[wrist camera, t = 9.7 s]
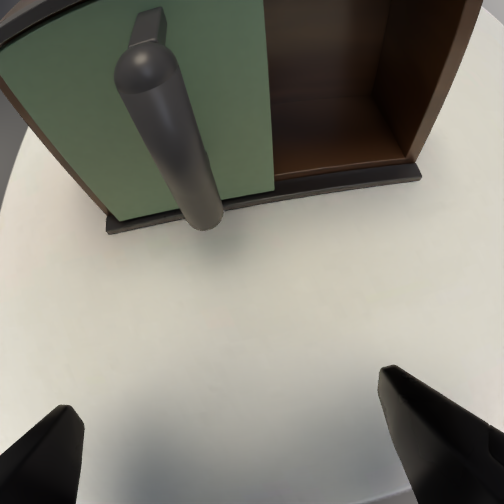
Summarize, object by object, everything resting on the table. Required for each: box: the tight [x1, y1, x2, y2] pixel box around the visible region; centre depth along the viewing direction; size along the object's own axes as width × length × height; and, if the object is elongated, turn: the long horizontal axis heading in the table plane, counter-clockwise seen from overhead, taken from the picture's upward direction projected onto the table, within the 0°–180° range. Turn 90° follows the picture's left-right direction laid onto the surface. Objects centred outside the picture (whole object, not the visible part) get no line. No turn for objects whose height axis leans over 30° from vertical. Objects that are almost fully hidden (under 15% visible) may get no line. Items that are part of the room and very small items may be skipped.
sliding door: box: [0, 0, 275, 231], centre depth 12 cm, size 4×9×13 cm, turn 99°
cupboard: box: [0, 0, 483, 234], centre depth 14 cm, size 8×20×14 cm, turn 99°
